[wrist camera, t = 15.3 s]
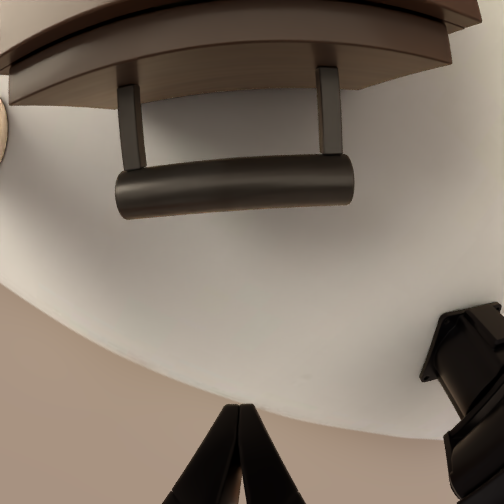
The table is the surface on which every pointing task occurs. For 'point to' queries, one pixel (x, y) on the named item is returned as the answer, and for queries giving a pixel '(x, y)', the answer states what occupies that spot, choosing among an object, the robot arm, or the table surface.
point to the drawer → (231, 89)
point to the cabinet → (120, 3)
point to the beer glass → (3, 129)
